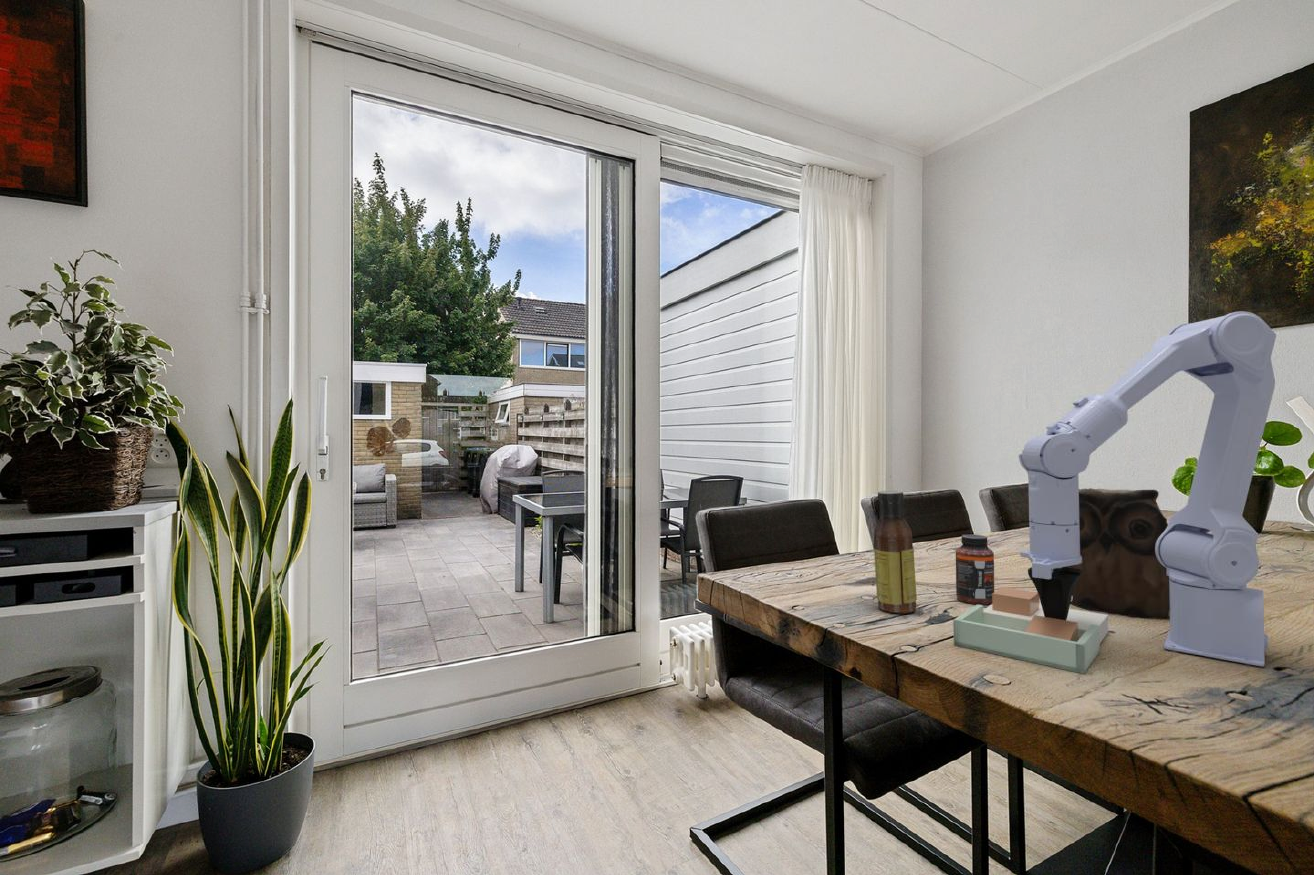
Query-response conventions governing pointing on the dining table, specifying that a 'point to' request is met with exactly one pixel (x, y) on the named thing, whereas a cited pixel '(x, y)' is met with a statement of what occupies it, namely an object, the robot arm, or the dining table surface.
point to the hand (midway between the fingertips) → (1055, 621)
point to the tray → (1026, 643)
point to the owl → (1121, 554)
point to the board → (1023, 621)
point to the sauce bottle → (894, 556)
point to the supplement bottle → (974, 570)
